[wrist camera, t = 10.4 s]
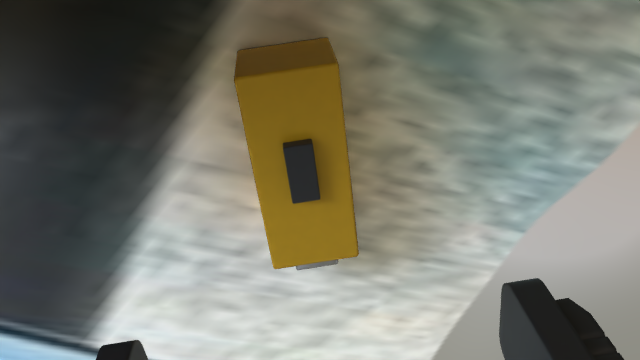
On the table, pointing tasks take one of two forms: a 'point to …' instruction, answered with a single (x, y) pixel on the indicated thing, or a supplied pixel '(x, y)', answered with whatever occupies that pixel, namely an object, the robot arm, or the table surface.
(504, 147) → the table surface
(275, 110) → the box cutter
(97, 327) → the table surface
